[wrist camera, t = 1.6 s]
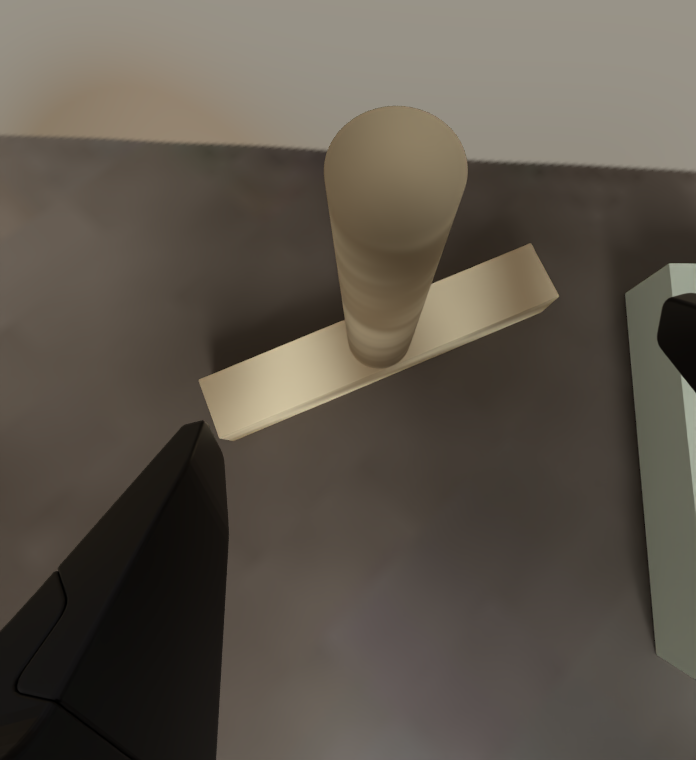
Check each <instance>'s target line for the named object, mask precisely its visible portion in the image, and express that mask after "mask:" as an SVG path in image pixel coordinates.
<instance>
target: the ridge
mask: <svg viewBox="0 0 696 760" xmlns="http://www.w3.org/2000/svg"><path fill="white" fill-rule="evenodd" d="M685 293H696V264H691V263H669V264H667V265H666V266H664V267H663V268H662V269H660V270H659V271H657V272H656V273H654V274H653V275H651V276H650V277H648V278H647V279H646V280H644V281H643V282H641V283H640V284H638V285H637V286H635V287H634V288H632V289H631V290H629V291H628V292H627V293H625V300H626V312H627V323H628V335H629V346H630V358H631V369H632V381H633V392H634V404H635V415H636V427H637V438H638V450H639V461H640V473H641V484H642V496H643V507H644V519H645V530H646V542H647V553H648V565H649V576H650V588H651V599H652V611H653V622H654V634H655V645H656V655H657V656H659V657H661V658H662V659H664V660H665V661H667V662H668V663H670V664H672V665H673V666H675V667H676V668H678V669H679V670H681V671H682V672H684V673H686V674H687V675H689V676H690V677H692V678H693V679H695V680H696V393H695V392H694V390H693V389H692V388H691V386H690V385H689V384H688V383H687V381H686V380H685V379H684V378H683V376H682V375H681V374H680V373H679V371H678V370H677V369H676V368H675V366H674V365H673V364H672V362H671V361H670V360H669V359H668V357H667V356H666V355H665V354H664V352H663V351H662V350H661V348H660V347H659V345H658V342H657V331H658V326H659V321H660V315H661V310H662V306H663V303H664V302H665V300H667V299H668V298H670V297H674V296H677V295H681V294H685Z"/></svg>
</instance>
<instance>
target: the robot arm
mask: <svg viewBox="0 0 696 760" xmlns="http://www.w3.org/2000/svg"><path fill="white" fill-rule="evenodd" d="M657 342H658V345H659V347H660V348H661V350H662V351H663V352H664V354H665V355H666V356H667V357H668V359H669V360H670V361H671V362H672V364H673V365H674V366H675V368H676V369H677V370H678V371H679V373H680V374H681V375H682V376H683V378H684V379H685V380H686V381H687V383H688V384H689V385H690V386H691V388H692V389H693V390H694V392H695V393H696V293H685V294H681V295H677V296H674V297H670V298H668V299H667V300H665V302H664V303H663V306H662V310H661V315H660V321H659V326H658V331H657ZM228 541H229V526H228V509H227V494H226V480H225V465H224V458H223V454H222V451H221V449H220V447H219V445H218V443H217V441H216V439H215V437H214V435H213V433H212V431H211V429H210V427H209V425H208V424H207V423H206V422H205V421H203V420H202V421H198V422H194V423H190V424H186V425H184V426H182V427H181V428H180V429H179V430H178V432H177V433H176V434H175V435H174V436H173V437H172V438H171V440H170V441H169V442H168V443H167V444H166V445H165V446H164V448H163V449H162V450H161V451H160V452H159V453H158V454H157V455H156V457H155V458H154V459H153V460H152V461H151V462H150V463H149V465H148V466H147V467H146V468H145V469H144V470H143V471H142V473H141V474H140V475H139V476H138V477H137V478H136V479H135V480H134V482H133V483H132V484H131V485H130V486H129V487H128V488H127V490H126V491H125V492H124V493H123V494H122V495H121V496H120V497H119V499H118V500H117V501H116V502H115V503H114V504H113V505H112V507H111V508H110V509H109V510H108V511H107V512H106V513H105V515H104V516H103V517H102V518H101V519H100V520H99V521H98V522H97V524H96V525H95V526H94V527H93V528H92V529H91V530H90V532H89V533H88V534H87V535H86V536H85V537H84V538H83V539H82V541H81V542H80V543H79V544H78V545H77V546H76V547H75V549H74V550H73V551H72V552H71V553H70V554H69V555H68V556H67V558H66V559H65V560H64V561H63V562H62V563H61V564H60V566H59V567H58V571H55V572H53V573H52V575H51V576H50V577H49V578H48V579H47V580H46V581H45V582H44V584H43V585H42V586H41V587H40V588H39V589H38V590H37V592H36V593H35V594H34V595H33V596H32V597H31V598H30V599H29V600H28V601H27V603H26V604H25V605H24V606H23V607H22V608H21V609H20V610H19V611H18V612H17V614H16V615H15V616H14V617H13V618H12V619H11V620H10V621H9V622H8V623H7V624H6V625H5V626H4V627H3V629H2V630H1V631H0V760H216V751H217V734H218V717H219V699H220V682H221V664H222V647H223V630H224V612H225V595H226V577H227V560H228Z"/></svg>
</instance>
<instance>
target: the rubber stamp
mask: <svg viewBox="0 0 696 760" xmlns="http://www.w3.org/2000/svg"><path fill="white" fill-rule="evenodd" d="M467 176H468V165H467V158H466V154H465V151H464V149H463V146H462V144H461V142H460V140H459V139H458V137H457V135H456V134H455V133H454V132H453V130H452V129H451V128H450V127H449V126H448V125H446V124H445V123H444V122H443V121H442V120H440V119H439V118H437V117H436V116H434V115H432V114H430V113H428V112H425V111H423V110H420V109H416V108H412V107H405V106H387V107H381V108H377V109H373V110H370V111H367V112H365V113H363V114H361V115H359V116H357V117H355V118H354V119H352V120H351V121H350V122H348V123H347V124H346V125H345V126H344V127H343V128H342V129H341V130H340V131H339V132H338V133H337V135H336V136H335V137H334V139H333V141H332V142H331V145H330V146H329V149H328V151H327V154H326V158H325V163H324V180H325V187H326V193H327V200H328V207H329V214H330V221H331V228H332V235H333V242H334V249H335V255H336V262H337V269H338V276H339V283H340V290H341V297H342V304H343V311H344V317H345V320H343V321H340V322H338V323H335V324H333V325H331V326H328V327H326V328H323V329H321V330H318V331H316V332H314V333H311V334H309V335H306V336H304V337H301V338H299V339H297V340H294V341H292V342H289V343H287V344H284V345H282V346H280V347H277V348H275V349H272V350H270V351H267V352H265V353H263V354H260V355H258V356H255V357H253V358H250V359H248V360H246V361H243V362H241V363H238V364H236V365H233V366H231V367H229V368H226V369H224V370H221V371H219V372H216V373H214V374H211V375H209V376H207V377H204V378H202V379H199V383H200V386H201V389H202V391H203V394H204V397H205V400H206V402H207V405H208V408H209V411H210V414H211V416H212V419H213V422H214V425H215V427H216V430H217V433H218V436H219V438H221V439H226V440H231V441H235V440H237V439H239V438H242V437H244V436H246V435H249V434H251V433H254V432H256V431H258V430H261V429H263V428H266V427H268V426H270V425H273V424H275V423H278V422H280V421H282V420H285V419H287V418H290V417H292V416H294V415H297V414H299V413H302V412H304V411H306V410H309V409H311V408H314V407H316V406H318V405H321V404H323V403H325V402H328V401H330V400H333V399H335V398H337V397H340V396H342V395H345V394H347V393H349V392H352V391H354V390H357V389H359V388H361V387H364V386H366V385H369V384H371V383H373V382H376V381H378V380H381V379H383V378H385V377H388V376H390V375H393V374H395V373H397V372H400V371H402V370H404V369H407V368H409V367H412V366H414V365H416V364H419V363H421V362H424V361H426V360H428V359H431V358H433V357H436V356H438V355H440V354H443V353H445V352H448V351H450V350H452V349H455V348H457V347H460V346H462V345H464V344H467V343H469V342H471V341H474V340H476V339H479V338H481V337H483V336H486V335H488V334H491V333H493V332H495V331H498V330H500V329H503V328H505V327H507V326H510V325H512V324H515V323H517V322H519V321H522V320H524V319H527V318H529V317H531V316H534V315H536V314H539V313H541V312H542V311H543V310H545V309H546V308H547V307H548V306H549V305H550V304H551V303H552V302H554V301H555V300H556V299H557V298H558V297H559V295H558V293H557V291H556V289H555V287H554V285H553V284H552V282H551V280H550V278H549V276H548V274H547V272H546V270H545V269H544V267H543V265H542V263H541V261H540V259H539V257H538V255H537V254H536V252H535V250H534V248H533V246H532V244H531V243H530V244H527V245H525V246H522V247H520V248H518V249H515V250H513V251H510V252H508V253H505V254H503V255H501V256H498V257H496V258H493V259H491V260H488V261H486V262H484V263H481V264H479V265H476V266H474V267H471V268H469V269H467V270H464V271H462V272H459V273H457V274H454V275H452V276H450V277H447V278H445V279H442V280H440V281H437V282H435V283H433V284H432V281H433V278H434V275H435V272H436V269H437V266H438V264H439V261H440V258H441V255H442V252H443V249H444V246H445V244H446V241H447V238H448V235H449V232H450V229H451V226H452V224H453V221H454V218H455V215H456V212H457V209H458V206H459V204H460V201H461V198H462V195H463V192H464V189H465V186H466V182H467Z"/></svg>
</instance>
